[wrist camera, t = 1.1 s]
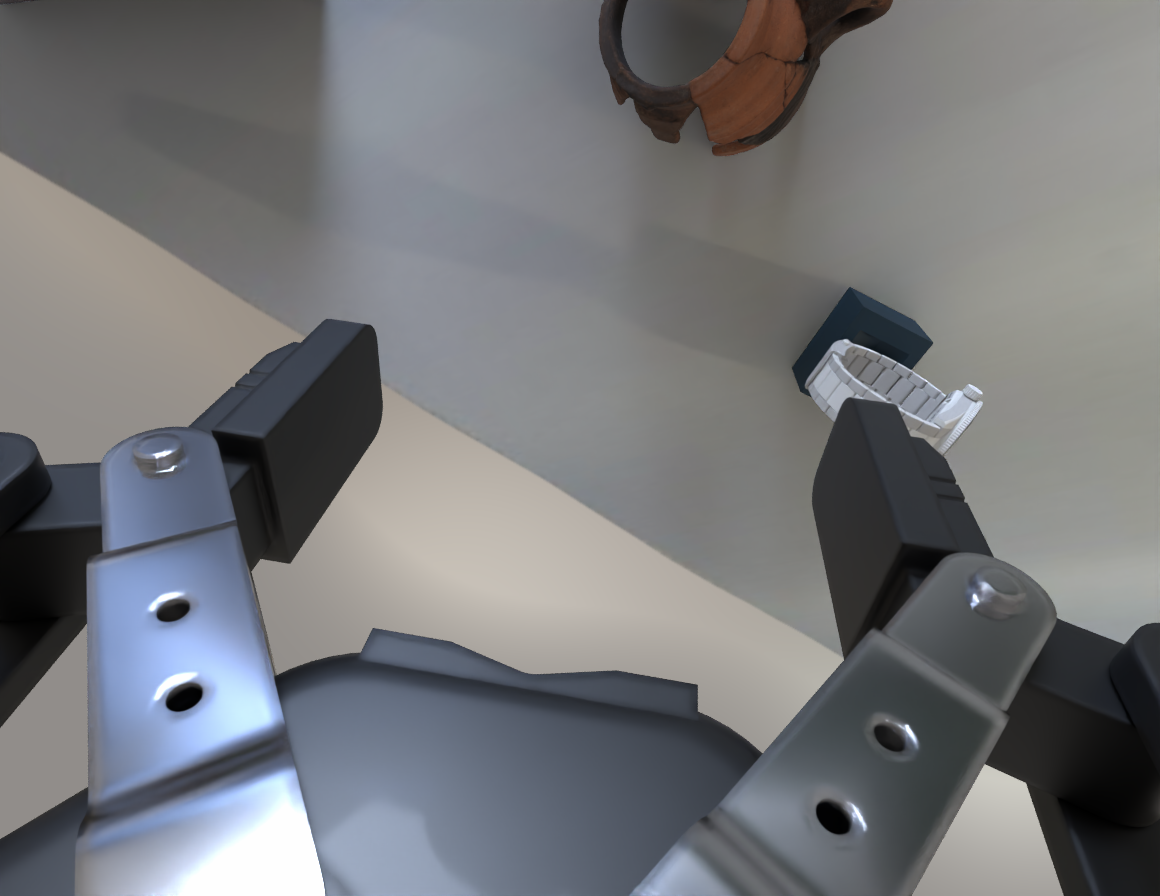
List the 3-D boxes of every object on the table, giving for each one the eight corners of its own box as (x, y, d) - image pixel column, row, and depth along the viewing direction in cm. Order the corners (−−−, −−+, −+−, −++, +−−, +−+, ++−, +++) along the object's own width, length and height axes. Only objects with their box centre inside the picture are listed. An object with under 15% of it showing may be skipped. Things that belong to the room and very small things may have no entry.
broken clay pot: (679, 195, 37) (608, 166, 30) (638, 18, 37) (556, -53, 30) (925, 96, 31) (909, 31, 24) (879, -118, 31) (849, -249, 23)
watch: (881, 412, 42) (943, 524, 33) (766, 355, 41) (796, 454, 32) (945, 334, 39) (1033, 433, 30) (823, 271, 38) (875, 352, 29)
